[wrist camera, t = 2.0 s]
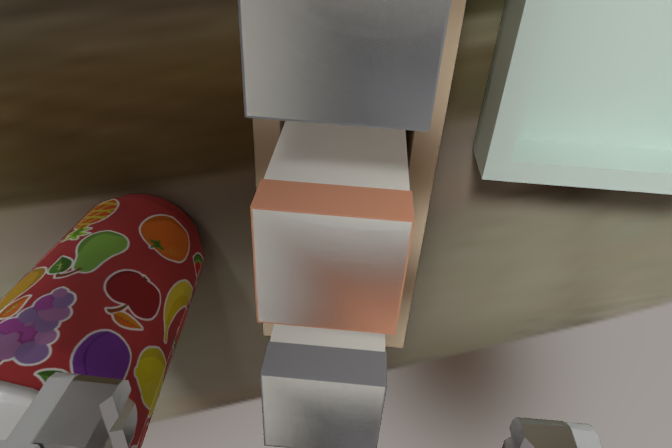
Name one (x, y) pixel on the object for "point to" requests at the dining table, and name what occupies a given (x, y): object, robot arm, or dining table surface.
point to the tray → (580, 96)
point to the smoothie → (102, 305)
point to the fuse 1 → (342, 60)
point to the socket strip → (420, 163)
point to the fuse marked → (333, 228)
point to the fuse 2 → (323, 387)
